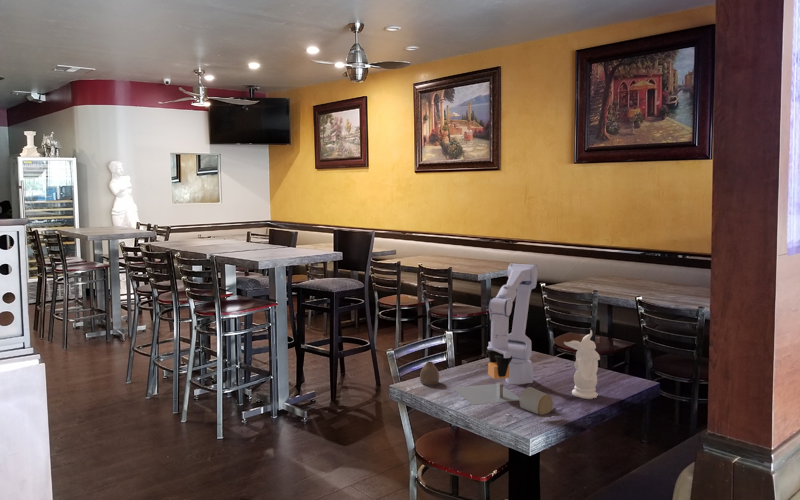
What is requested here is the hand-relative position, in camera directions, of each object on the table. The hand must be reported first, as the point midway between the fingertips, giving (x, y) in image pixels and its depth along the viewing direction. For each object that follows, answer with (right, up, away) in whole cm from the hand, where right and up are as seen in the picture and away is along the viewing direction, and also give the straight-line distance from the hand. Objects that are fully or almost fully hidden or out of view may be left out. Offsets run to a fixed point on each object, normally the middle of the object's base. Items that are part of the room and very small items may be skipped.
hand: (498, 373), depth 207 cm
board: (-4, -9, +3) cm, 10 cm away
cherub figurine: (+30, -9, +8) cm, 32 cm away
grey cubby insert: (0, -8, 0) cm, 8 cm away
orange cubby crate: (0, -1, 0) cm, 1 cm away
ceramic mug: (+11, -11, -10) cm, 18 cm away
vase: (-22, -8, +15) cm, 28 cm away
